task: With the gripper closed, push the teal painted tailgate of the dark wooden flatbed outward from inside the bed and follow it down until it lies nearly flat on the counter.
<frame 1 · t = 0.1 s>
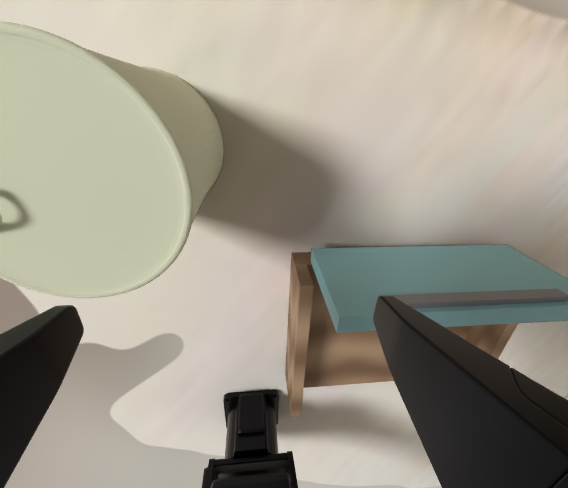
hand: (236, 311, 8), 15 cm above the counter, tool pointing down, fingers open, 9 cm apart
flatbed: (381, 316, 29), on the counter
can: (158, 144, 19), on the counter
tailgate: (440, 277, 20), point 6 cm above the counter, hinge at 0.0°
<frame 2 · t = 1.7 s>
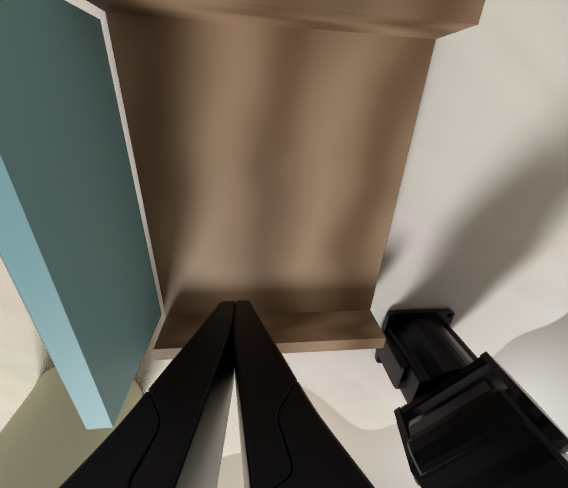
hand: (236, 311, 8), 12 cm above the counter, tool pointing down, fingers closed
flatbed: (273, 194, 19), on the counter
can: (93, 391, 26), on the counter
tailgate: (88, 230, 13), point 6 cm above the counter, hinge at 0.0°
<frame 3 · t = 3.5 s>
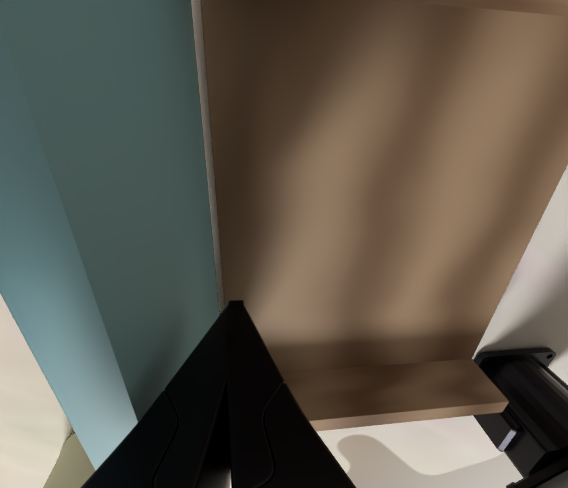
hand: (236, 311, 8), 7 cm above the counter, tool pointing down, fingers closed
flatbed: (370, 225, 15), on the counter
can: (127, 451, 22), on the counter
tailgate: (166, 300, 9), point 6 cm above the counter, hinge at 3.3°, touching gripper
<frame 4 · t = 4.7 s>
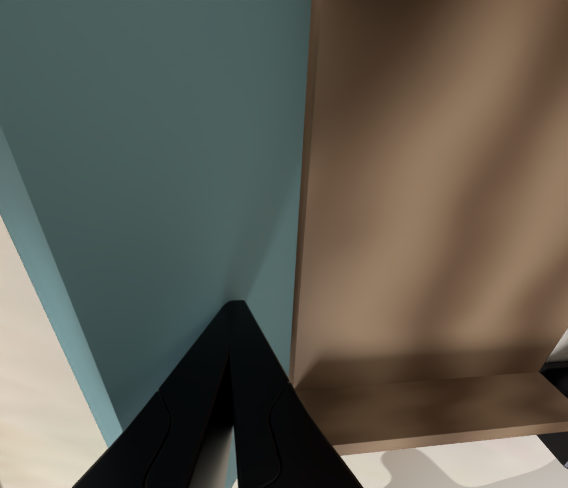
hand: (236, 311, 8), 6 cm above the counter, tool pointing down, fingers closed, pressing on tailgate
flatbed: (445, 233, 14), on the counter
tailgate: (220, 300, 9), point 5 cm above the counter, hinge at 34.2°, touching gripper
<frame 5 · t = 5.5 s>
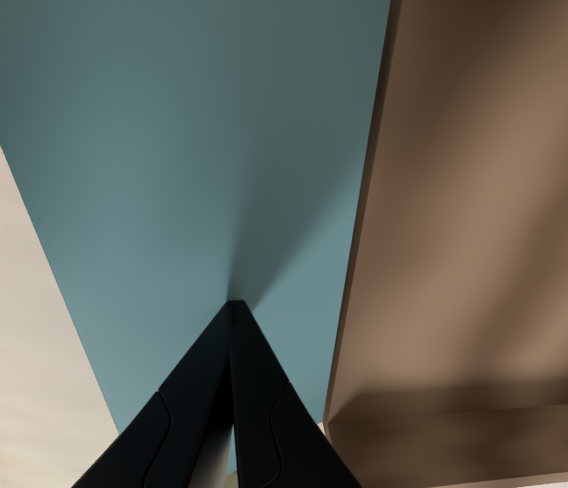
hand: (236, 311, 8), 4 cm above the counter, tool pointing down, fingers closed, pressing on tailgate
flatbed: (504, 251, 13), on the counter
tailgate: (235, 298, 9), point 3 cm above the counter, hinge at 67.4°, touching gripper
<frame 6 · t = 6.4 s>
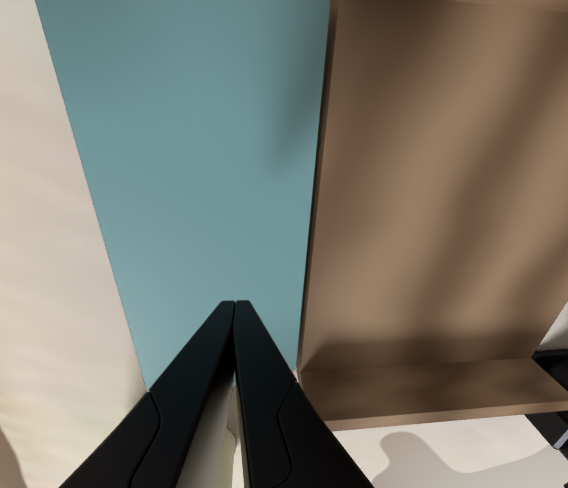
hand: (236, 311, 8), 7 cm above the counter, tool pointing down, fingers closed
flatbed: (445, 225, 15), on the counter
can: (180, 444, 23), on the counter
tailgate: (217, 244, 12), point 2 cm above the counter, hinge at 76.3°
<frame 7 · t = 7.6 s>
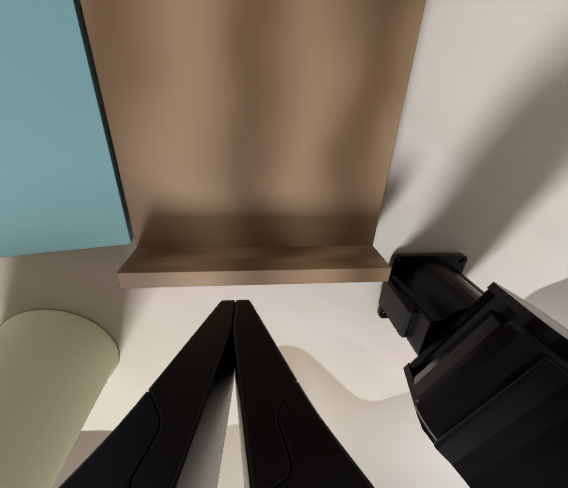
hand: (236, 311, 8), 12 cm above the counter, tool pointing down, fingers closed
flatbed: (260, 97, 16), on the counter
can: (62, 348, 24), on the counter
tailgate: (0, 83, 13), point 2 cm above the counter, hinge at 76.3°
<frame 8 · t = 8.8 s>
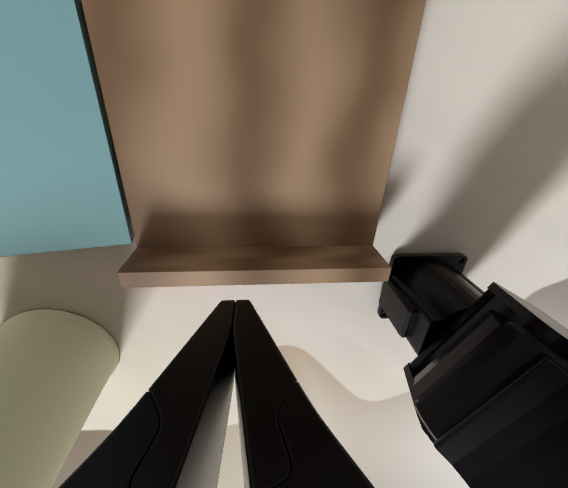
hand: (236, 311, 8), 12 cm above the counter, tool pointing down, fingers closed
flatbed: (260, 97, 16), on the counter
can: (63, 348, 24), on the counter
tailgate: (1, 83, 13), point 2 cm above the counter, hinge at 76.3°
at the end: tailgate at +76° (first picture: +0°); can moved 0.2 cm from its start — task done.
